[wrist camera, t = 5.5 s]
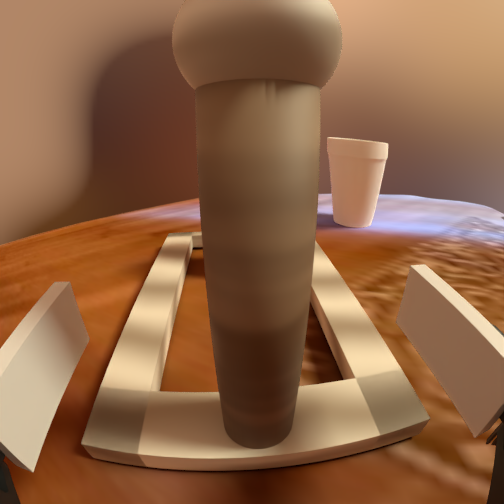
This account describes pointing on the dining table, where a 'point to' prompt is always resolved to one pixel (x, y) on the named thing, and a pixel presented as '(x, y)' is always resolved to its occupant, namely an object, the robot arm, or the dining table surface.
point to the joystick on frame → (253, 269)
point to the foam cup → (355, 179)
